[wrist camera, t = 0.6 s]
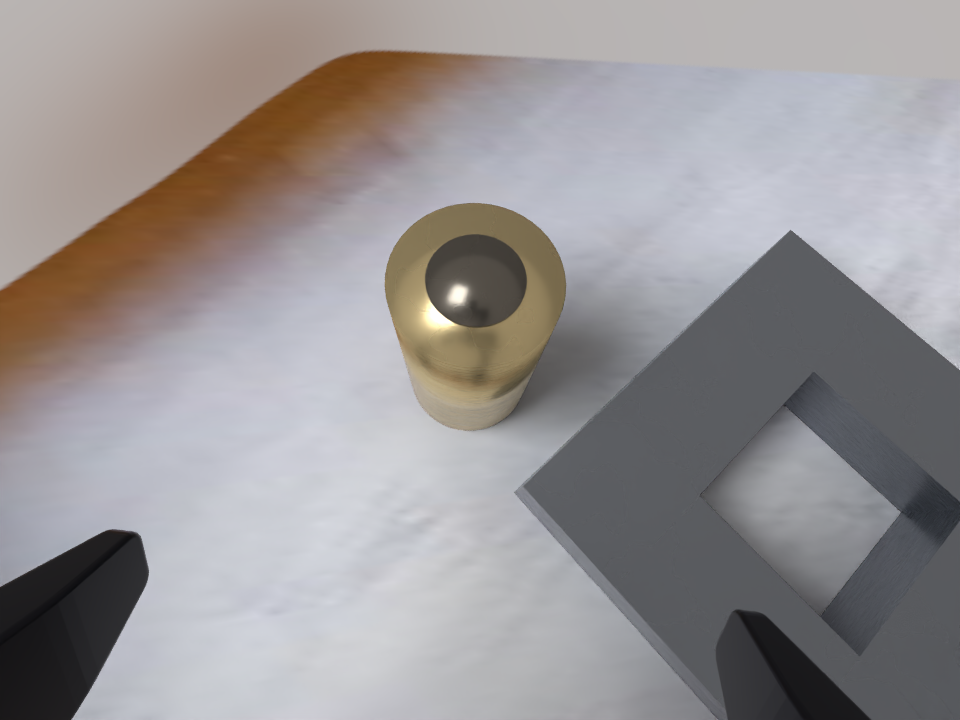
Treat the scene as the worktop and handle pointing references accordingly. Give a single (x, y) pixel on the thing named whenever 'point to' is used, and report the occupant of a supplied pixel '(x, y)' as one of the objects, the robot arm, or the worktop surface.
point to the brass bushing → (473, 309)
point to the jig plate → (724, 433)
